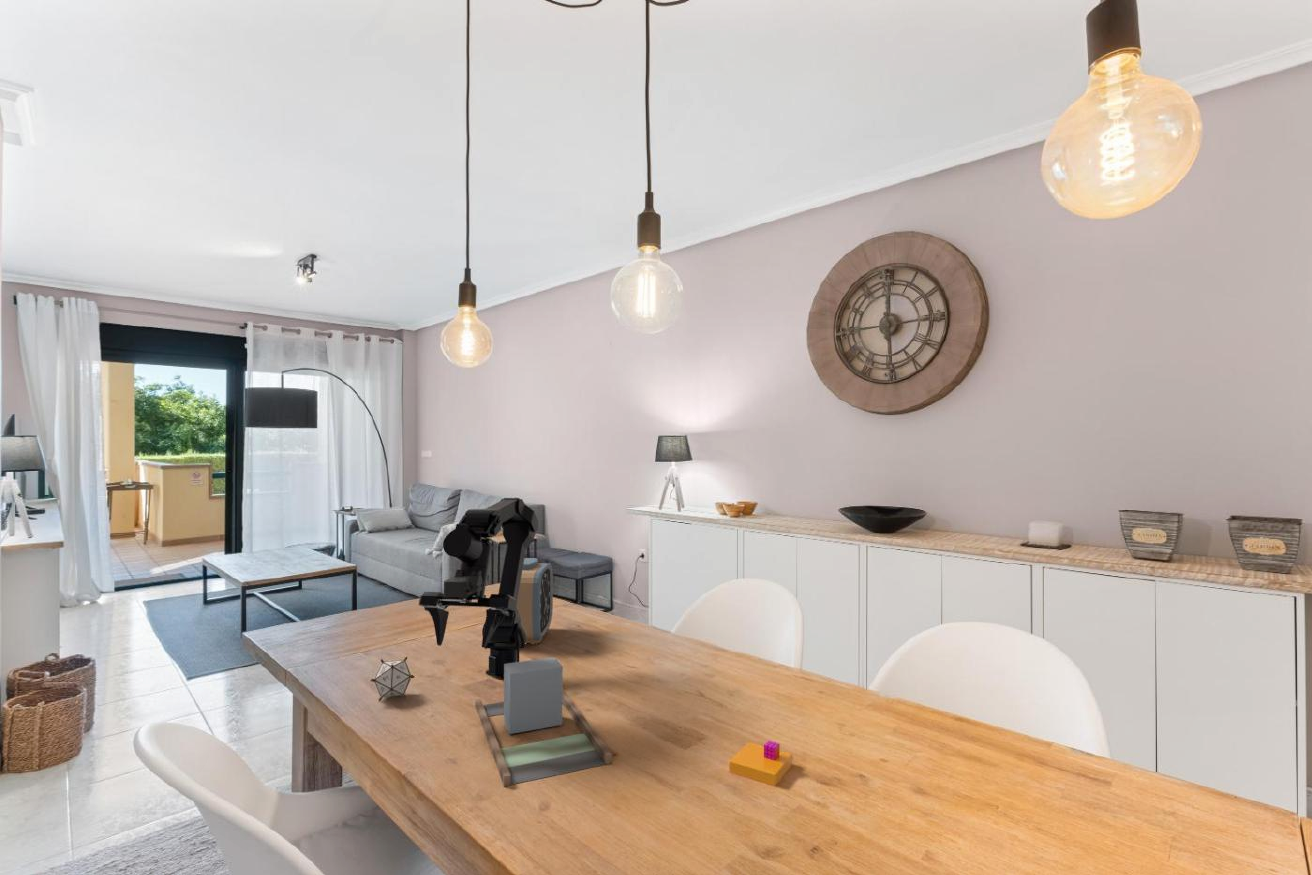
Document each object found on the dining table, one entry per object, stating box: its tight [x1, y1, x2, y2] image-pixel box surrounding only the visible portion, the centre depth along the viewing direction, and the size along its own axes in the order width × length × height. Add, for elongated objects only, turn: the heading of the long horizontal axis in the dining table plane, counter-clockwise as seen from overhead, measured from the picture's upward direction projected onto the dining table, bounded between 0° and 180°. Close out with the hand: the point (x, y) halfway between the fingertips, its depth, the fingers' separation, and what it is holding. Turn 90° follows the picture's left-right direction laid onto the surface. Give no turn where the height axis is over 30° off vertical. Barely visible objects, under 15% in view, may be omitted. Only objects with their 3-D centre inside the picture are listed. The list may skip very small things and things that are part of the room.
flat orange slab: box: [728, 740, 793, 787], centre depth 103 cm, size 8×8×4 cm
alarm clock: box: [516, 557, 554, 644], centre depth 174 cm, size 21×10×22 cm, turn 179°
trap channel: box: [474, 687, 613, 787], centre depth 115 cm, size 33×18×2 cm, turn 24°
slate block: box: [503, 656, 564, 735], centre depth 119 cm, size 6×10×11 cm, turn 114°
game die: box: [369, 656, 416, 702], centre depth 131 cm, size 9×8×10 cm
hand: (461, 646), depth 122 cm, fingers open, 9 cm apart
